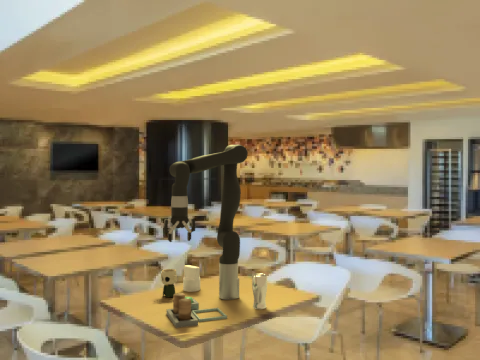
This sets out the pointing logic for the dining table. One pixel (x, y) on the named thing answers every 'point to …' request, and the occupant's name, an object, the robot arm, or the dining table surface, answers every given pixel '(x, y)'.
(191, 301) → the button
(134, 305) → the dining table surface
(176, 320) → the grey shallow tray
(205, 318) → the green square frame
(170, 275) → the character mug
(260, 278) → the beer glass
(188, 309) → the cylinder
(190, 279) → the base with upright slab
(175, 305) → the cylinder
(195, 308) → the console
